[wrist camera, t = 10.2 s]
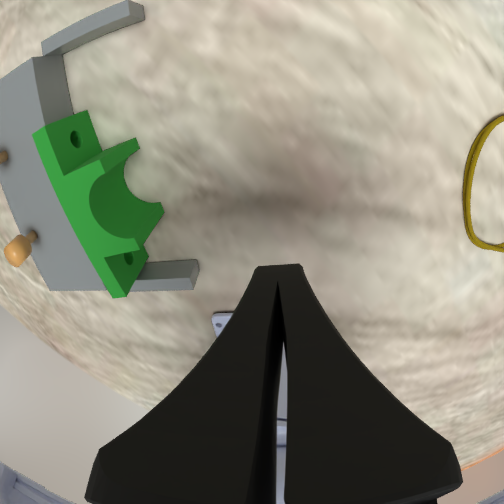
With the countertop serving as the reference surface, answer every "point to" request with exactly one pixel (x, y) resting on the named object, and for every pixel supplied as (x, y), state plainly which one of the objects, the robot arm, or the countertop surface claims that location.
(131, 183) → the countertop surface
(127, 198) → the pipe clamp
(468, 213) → the extension cord
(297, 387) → the robot arm
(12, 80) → the pegged forked bracket
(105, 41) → the countertop surface
